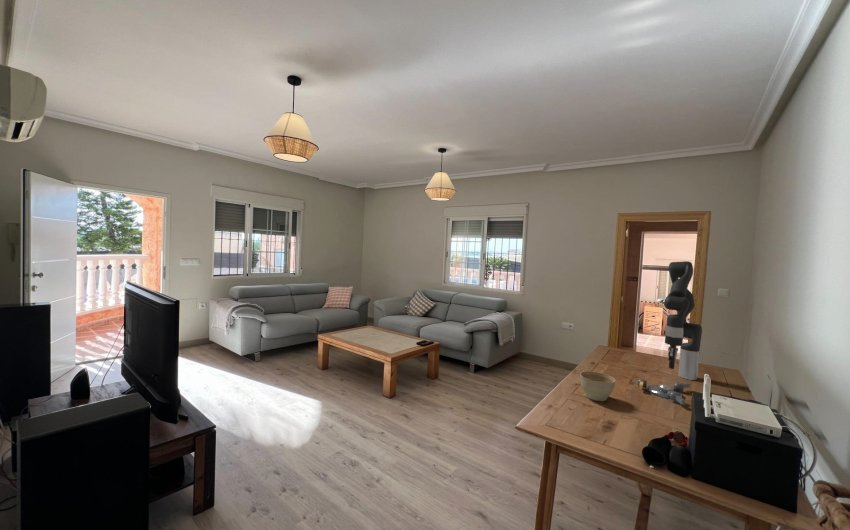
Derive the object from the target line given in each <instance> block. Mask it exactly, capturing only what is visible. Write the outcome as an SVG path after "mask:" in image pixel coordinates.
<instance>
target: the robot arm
mask: <svg viewBox="0 0 850 530" xmlns="http://www.w3.org/2000/svg"><path fill="white" fill-rule="evenodd" d="M668 273H669V277H670V280H671V284H672V285H671V287H670V292H669V293H668V295H666V296H665V299H664V301H663V305H664V307H665V309H667V310H670V311H676V313H675V314H668V315H667V316H666V317H667V318H666V328H665V336H664V343H665V344H666V345H669V346H668V348H667V352H668V353H667V356H668V359H667V360H668V361H669V362H668V369H670V370H675V364H676V361H677V360H676V359H677V357H678V352H679V362H678V363H679V364H678V373H677V374H678V375H677V376H678V377H679V378H682V379H685V380H689V381H690V380H691V381H696V380H698V373H699V372H698V371H699V359H700V348H701V340H702V335H703V327H702V325H700V324H697V323H692V322H688V321H687V318H688V316H689V315H690V313H691V312H692V311H693V310H694V308H695V307H696V306H695V305H696V303H695V299H694V294H693V293H692V292H691V291H690V290H689V289H688V286H689V284H690V282H691V281H692V278H693V275H694V266H693V263H692V262H691V261H672V262H670V263H669V264H668ZM684 338H687V339H691V341H690V342H684V341H683V340H684ZM678 347H680V351H679V348H678Z"/></svg>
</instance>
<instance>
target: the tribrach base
mask: <svg viewBox="0 0 850 530" xmlns="http://www.w3.org/2000/svg"><path fill="white" fill-rule="evenodd" d="M641 390H645V391H648V393H650V394H652V395H654V396H656V397H659V398H662V399H666V400H667V399H668V400H669V401H670V402H671V403H677V404H678V403H679V402H678V401H674V400H671V399H670V398H669V397H670V391H674V392H678V393H680V394H681V395H680V397H681V398H683V391H678V390H675V389H674V388H672V387H671V386H670V385H668V384H662V383H660V384H659V385H657V384H656V385H655V384H654V385H649V386H648V385H647V387H643V388H642V389H641ZM679 404H680V403H679Z"/></svg>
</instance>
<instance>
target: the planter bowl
mask: <svg viewBox="0 0 850 530" xmlns="http://www.w3.org/2000/svg"><path fill="white" fill-rule="evenodd" d="M579 376H580V377H579V378H580V385H581V388H582V390H583V391H584V393H585V397H587V399H589V400H591V401H597V402H605V401H607V399H608V398H609V397H610V396H611V395H612V393H613V392H614V389H615V387H616V386H615V385H616V383H617V382H616V381H617V380H616V378H615V377H613V376H611V375H609V374H606V373H603V372H598V371H592V370H591V371H589V370H588V371H581V372H580V374H579Z"/></svg>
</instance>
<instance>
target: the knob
mask: <svg viewBox="0 0 850 530" xmlns="http://www.w3.org/2000/svg"><path fill="white" fill-rule="evenodd" d="M680 395H681V394H680V393H678V392H674V391H670V397H669V398H670V399H671V400H674V401H678V402H679V404H680V405H683V406H685V405H686V399H684V398H683V397H682V398H681V397H680Z"/></svg>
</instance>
